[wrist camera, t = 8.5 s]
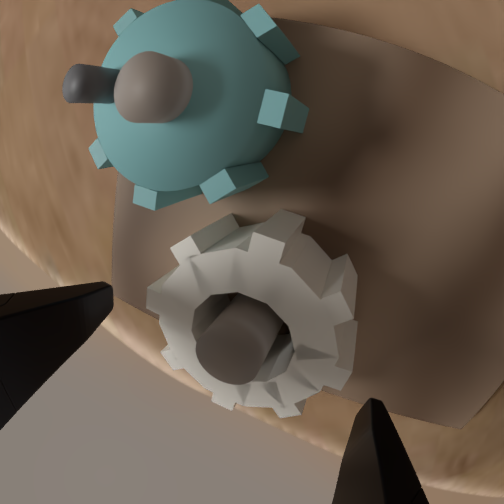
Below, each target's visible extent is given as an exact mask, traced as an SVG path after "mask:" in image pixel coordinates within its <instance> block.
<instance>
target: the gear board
mask: <svg viewBox="0 0 504 504" xmlns="http://www.w3.org/2000/svg"><path fill="white" fill-rule="evenodd" d="M272 20H273V21H274V22H275V23H276V25H277V26H278V27H279V28H280V30H281V31H282V32H283V33H284V35H285V36H286V37H287V38H288V40H289V41H290V42H291V44H292V45H293V47H294V48H295V49H296V51H297V52H298V53H299V55H300V57H298V58H296V59H295V60H293V61H291V62H289V63H288V64H286V65H285V64H284V65H285V67H286V69H287V72H288V75H289V79H290V83H291V94H292V96H293V97H294V98H296V99H297V100H298V101H300V102H301V103H303V104H304V105H305V106H307V107H308V108H309V112H308V116H307V119H306V123H305V127H304V131H303V133H299V132H294V131H289V130H284V131H283V133H282V135H281V137H280V139H279V140H278V142H277V143H276V145H275V146H274V147H273V149H272V150H271V151H270V152H269V153H268V154H267V155H266V156H265V157H264V158H263V159H262V160H261V161H260V162H261V163H262V165H263V167H264V168H265V170H266V172H267V174H268V175H269V177H268V178H266V179H264V180H263V181H261V182H259V183H257V184H256V185H254V186H252V187H250V188H249V189H246V190H244V191H241V192H239V193H236V194H234V195H231V196H229V197H226V198H224V199H222V200H219V201H217V202H214V203H212V204H209V202H208V200H207V198H206V197H205V195H204V193H203V191H202V194H200V195H198V196H195V197H192V198H189V199H186V200H183V201H180V202H177V203H175V204H172V205H169V206H166V207H164V208H161V209H158V210H155V211H154V210H151V209H148V208H145V207H143V206H140V205H137V204H134V203H133V195H134V187H135V185H136V184H135V183H133V182H131V181H130V180H128V179H127V178H125V177H124V176H123V175H122V174H121V173H119V171H118V177H117V186H116V197H115V209H114V224H113V245H112V287H113V295H114V296H116V297H117V298H119V299H121V300H123V301H124V302H126V303H128V304H130V305H132V306H134V307H135V308H137V309H139V310H141V311H143V312H145V313H147V314H148V315H150V316H152V317H154V318H156V319H158V320H159V316H160V315H158V314H156V313H154V312H153V311H151V310H149V309H147V308H146V299H147V287H148V286H150V285H151V284H153V283H154V282H155V281H157V280H158V279H160V278H161V277H163V276H164V275H166V274H167V273H169V272H170V271H171V270H173V269H174V268H176V267H177V266H179V263H178V261H177V259H176V258H175V256H174V254H173V253H172V251H171V249H170V247H172V246H174V245H175V244H177V243H179V242H180V241H182V240H184V239H185V238H187V237H189V236H190V235H192V234H194V233H196V232H198V231H199V230H201V229H203V228H205V227H207V226H208V225H210V224H212V223H214V222H216V221H218V220H219V219H221V218H223V217H225V216H227V215H229V214H231V213H232V215H233V217H234V218H235V220H236V222H237V224H238V225H239V227H244V226H249V225H254V224H259V223H263V222H266V221H267V220H268V219H270V218H271V217H272V216H273V215H275V214H276V213H277V212H278V211H280V210H281V209H283V210H286V211H289V212H292V213H295V214H298V215H301V216H304V217H306V219H305V222H304V225H303V228H302V232H301V233H303V234H305V235H308V236H310V237H312V238H313V240H314V241H315V242H316V243H317V244H318V245H319V246H320V247H321V248H322V250H323V251H324V252H325V253H326V254H327V255H328V256H329V258H330V259H331V260H334V259H336V258H338V257H340V256H343V255H345V254H348V256H349V258H350V260H351V262H352V264H353V266H354V269H355V271H356V273H357V275H358V277H357V290H356V302H355V312H354V319H352V320H355V321H358V325H357V335H356V345H355V354H354V363H353V371H352V373H351V375H350V377H349V378H348V380H347V382H346V383H345V385H344V386H343V388H342V389H341V391H340V390H337V389H334V388H331V387H328V386H325V385H323V387H322V389H321V390H322V391H325V392H328V393H330V394H333V395H336V396H339V397H342V398H345V399H348V400H352V401H355V402H358V403H361V404H365V403H366V401H367V400H368V399H369V398H375V399H379V400H381V401H382V402H383V403H384V405H385V407H386V409H387V411H388V412H391V413H395V414H399V415H402V416H406V417H410V418H414V419H418V420H422V421H426V422H430V423H434V424H439V425H443V426H448V427H453V428H457V429H462V428H463V427H464V426H465V425H466V424H467V423H468V422H469V421H470V420H471V419H472V418H473V416H474V415H475V414H476V413H477V412H478V411H479V410H480V409H481V408H482V407H483V405H484V404H485V403H486V402H487V401H488V400H489V398H490V397H491V396H492V395H493V394H494V392H495V391H496V390H497V389H498V388H499V386H500V385H501V384H502V383H503V381H504V94H502V93H500V92H499V91H497V90H495V89H493V88H492V87H490V86H488V85H486V84H484V83H483V82H481V81H479V80H477V79H475V78H473V77H471V76H469V75H467V74H465V73H463V72H461V71H459V70H457V69H454V68H452V67H450V66H448V65H446V64H443V63H441V62H439V61H436V60H434V59H432V58H429V57H427V56H424V55H422V54H419V53H416V52H414V51H411V50H408V49H406V48H403V47H400V46H397V45H394V44H391V43H388V42H385V41H381V40H378V39H375V38H371V37H368V36H364V35H361V34H357V33H353V32H349V31H345V30H341V29H336V28H332V27H327V26H322V25H317V24H312V23H306V22H300V21H294V20H287V19H279V18H272ZM192 90H193V79H192V75H191V72H190V70H189V68H188V67H187V66H186V65H185V64H184V63H183V62H182V61H180V60H178V59H175V58H173V57H170V56H167V55H164V54H161V53H158V52H154V51H145V52H141V53H138V54H136V55H135V56H133V57H132V58H130V59H129V60H128V61H127V62H126V63H125V64H124V66H123V67H122V69H121V70H120V72H119V74H118V76H117V79H116V82H115V87H114V101H115V105H116V108H117V110H118V112H119V114H120V115H121V116H122V117H123V118H124V119H126V120H127V121H129V122H133V123H166V122H169V121H172V120H173V119H175V118H176V117H178V116H179V115H180V114H181V113H182V112H183V111H184V109H185V108H186V107H187V105H188V103H189V101H190V98H191V95H192ZM227 294H228V297H229V300H230V303H229V304H228V305H227V307H226V308H225V309H224V310H223V311H222V312H221V313H220V315H219V316H218V317H217V318H216V319H215V320H214V322H213V323H212V324H211V325H210V326H209V327H208V328H207V330H206V331H205V332H204V333H203V334H202V335H201V336H200V338H199V339H198V341H197V343H196V355H197V358H198V360H199V362H200V364H201V366H202V367H203V368H204V369H205V370H206V371H207V372H208V373H209V374H210V375H211V376H213V377H214V378H216V379H218V380H220V381H222V382H224V383H228V384H232V385H242V384H246V383H249V382H250V381H252V380H253V379H254V378H255V377H256V375H257V374H258V372H259V370H260V368H261V366H262V364H263V362H264V360H265V358H266V356H267V354H268V352H269V350H270V348H271V346H272V344H273V342H274V340H275V338H276V336H277V335H282V334H289V333H290V330H289V326H288V325H287V324H286V323H285V322H284V321H283V320H282V319H281V318H280V317H279V316H278V315H277V314H276V313H275V312H274V310H273V309H272V308H271V307H270V306H269V305H268V304H267V303H264V302H262V301H259V300H256V299H254V298H251V297H249V296H246V295H244V294H241V293H239V292H234V293H227Z"/></svg>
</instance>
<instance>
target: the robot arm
mask: <svg viewBox="0 0 504 504" xmlns="http://www.w3.org/2000/svg"><path fill="white" fill-rule="evenodd" d="M113 305H114V303H113V287H112V286H111V285H109V284H108V283H106V282H103V281H102V282H94V283H87V284H79V285H72V286H64V287H57V288H49V289H42V290H34V291H27V292H18V293H10V294H2V295H0V430H1V429H2V428H3V427H4V425H5V424H6V423H7V422H8V421H9V420H10V419H11V418H12V417H13V416H14V415H15V414H16V412H17V411H18V410H19V409H20V408H21V407H22V406H23V405H24V404H25V403H26V402H27V401H28V399H29V398H30V397H31V396H32V395H33V394H34V393H35V392H36V391H37V390H38V389H39V388H40V387H41V386H42V385H43V383H45V382H46V381H47V380H48V379H49V378H50V377H51V376H52V374H54V372H55V371H57V370H58V368H59V367H60V366H61V365H62V364H63V363H64V362H65V361H66V360H67V359H68V358H69V357H70V356H71V355H72V354H73V353H74V352H76V351H77V349H79V348H80V347H81V345H83V344H84V342H86V341H87V340H88V338H89V337H90V336H91V335H92V334H93V333H94V331H95V330H96V329H97V328H98V326H99V325H100V324H101V323H102V322H103V320H104V319H105V318H106V317H107V316H108V315H109V313H110V312H111V311H112V309H113ZM332 504H429V502H428V500H427V498H426V495H425V493H424V491H423V489H422V488H421V484H420V482H419V479H418V477H417V475H416V472H415V470H414V468H413V466H412V463H411V461H410V459H409V457H408V454H407V452H406V450H405V448H404V446H403V443H402V441H401V439H400V437H399V435H398V433H397V430H396V428H395V426H394V424H393V422H392V420H391V418H390V416H389V413H388V411H387V409H386V407H385V405H384V403H383V402H382V401H381V400H379V399H375V398H369V399H368V400H367V401H366V403H365V404H364V405H363V407H362V408H361V409H360V411H359V412H358V413H357V415H356V417H355V420H354V423H353V427H352V430H351V433H350V437H349V440H348V443H347V446H346V449H345V452H344V455H343V459H342V463H341V467H340V471H339V477H338V481H337V485H336V489H335V494H334V498H333V502H332Z"/></svg>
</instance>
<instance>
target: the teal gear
mask: <svg viewBox="0 0 504 504" xmlns="http://www.w3.org/2000/svg"><path fill="white" fill-rule="evenodd" d="M113 27H114V29H115V31H116V33H117V35H118V36H119V37H118V38H117V40H116V41H115V42H114V44H113V45H112V47H111V48H110V50H109V52H108V53H107V55H106V57H105V60H104V62H103V64H102V66H101V67H99V66H92V65H85V64H76V65H74V66H72V67H71V68H70V69H69V71H68V72H67V74H66V76H65V78H64V82H63V96H64V99H65V100H66V101H67V102H69V103H94V120H95V127H96V131H97V135H98V138H97V139H96V140H95V141H94V143H93V144H92V145H91V146H90V147H89V151H90V153H91V155H92V157H93V159H94V162H95V164H96V166H97V168H98V169H102V168H107V167H113V166H114V167H115V168H116V169H117V170H118V171H119V173H121V174H122V175H123V176H124V177H125V178H127V179H128V180H130V181H131V182H133V183H135V184H136V185H135V187H134V195H133V203H134V204H137V205H140V206H143V207H145V208H148V209H151V210H154V211H155V210H158V209H161V208H164V207H166V206H169V205H172V204H175V203H177V202H180V201H183V200H186V199H189V198H192V197H195V196H198V195H200V194H202V191H203V193H204V195H205V197H206V198H207V200H208V202H209V204H212V203H214V202H217V201H219V200H222V199H224V198H226V197H229V196H231V195H234V194H236V193H239V192H241V191H244V190H246V189H249V188H250V187H252V186H254V185H256V184H257V183H259V182H261V181H263V180H264V179H266V178H268V177H269V175H268V174H267V172H266V170H265V168H264V167H263V165H262V163H261V162H260V161H261V160H262V159H263V158H264V157H265V156H266V155H267V154H268V153H269V152H270V151H271V150H272V149H273V147H274V146H275V145H276V143H277V142H278V140H279V139H280V137H281V135H282V133H283V131H284V130H289V131H294V132H299V133H303V131H304V127H305V123H306V119H307V116H308V112H309V108H308V107H307V106H305V105H304V104H303V103H301V102H300V101H298V100H297V99H296V98H294V97H293V96H292V94H291V83H290V79H289V75H288V72H287V69H286V67H285V65H286V64H288V63H289V62H291V61H293V60H295V59H296V58H298V57H300V55H299V53H298V52H297V51H296V49H295V48H294V47H293V45H292V44H291V42H290V41H289V40H288V38H287V37H286V36H285V35H284V33H283V32H282V31H281V30H280V28H279V27H278V26H277V25H276V23H275V22H274V21H273V20H272V18H271V17H270V16H269V15H268V14H267V13H266V11H265V10H264V9H263V8H262V7H261V6H260V4H257V5H256V6H254V7H252V8H251V9H249V10H248V11H246V12H245V13H242V12H241V11H239V10H238V9H237V8H236V7H235V6H234V5H233V4H232V3H231V2H229V1H228V0H176V1H172V2H168V3H165V4H162V5H160V6H157V7H155V8H153V9H151V10H149V11H148V12H146V13H142V12H140V11H137V10H135V9H132V8H131V9H130V10H129V11H128V12H127V13H125V14H124V15H123V16H122V17H121V18H120V19H119V20H118V21H117V22H116V24H115V25H114V26H113ZM145 51H154V52H158V53H161V54H164V55H167V56H170V57H173V58H175V59H178V60H180V61H182V62H183V63H184V64H185V65H186V66H187V67H188V68H189V70H190V72H191V75H192V79H193V90H192V95H191V98H190V101H189V103H188V105H187V107H186V108H185V109H184V111H183V112H182V113H181V114H180V115H179V116H178V117H176V118H175V119H173V120H172V121H169V122H166V123H133V122H129V121H127V120H126V119H124V118H123V117H122V116H121V115H120V114H119V112H118V110H117V108H116V105H115V101H114V87H115V82H116V79H117V76H118V74H119V72H120V70H121V69H122V67H123V66H124V64H125V63H126V62H127V61H128V60H129V59H130V58H132V57H133V56H135V55H136V54H138V53H141V52H145ZM284 64H285V65H284Z"/></svg>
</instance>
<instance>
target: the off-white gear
mask: <svg viewBox="0 0 504 504" xmlns="http://www.w3.org/2000/svg"><path fill="white" fill-rule="evenodd" d="M305 219H306V217H304V216H301V215H298V214H295V213H292V212H289V211H286V210H283V209H281V210H280V211H278V212H277V213H276V214H275V215H273V216H272V217H271V218H270V219H268V220H267V221H266V222H263V223H259V224H254V225H249V226H244V227H239V225H238V224H237V222H236V220H235V218H234V217H233V215H232V213H231V214H229V215H227V216H225V217H223V218H221V219H219V220H218V221H216V222H214V223H212V224H210V225H208V226H207V227H205V228H203V229H201V230H199V231H198V232H196V233H194V234H192V235H190V236H189V237H187V238H185V239H184V240H182V241H180V242H179V243H177V244H175V245H174V246H172V247H170V249H171V251H172V253H173V254H174V256H175V258H176V259H177V261H178V263H179V266H177V267H176V268H174V269H173V270H171V271H170V272H169V273H167V274H166V275H164V276H163V277H161V278H160V279H158V280H157V281H155V282H154V283H153V284H151V285H150V286H148V287H147V299H146V308H147V309H149V310H151V311H153V312H154V313H156V314H158V315H160V316H159V324H160V326H161V329H162V331H163V333H164V336H165V338H166V340H167V342H168V345H167V346H166V347H165V348H164V349H163V350H162V351H161V354H162V355H163V357H164V358H165V359H166V361H167V362H168V364H169V365H170V366H171V368H172V369H173V370H177V369H182V368H184V369H185V370H186V371H187V372H188V373H189V374H190V375H191V376H192V377H193V378H194V379H195V380H197V381H198V382H199V383H200V384H201V385H202V386H203V387H204V388H205V389H207V390H209V391H211V392H213V396H212V400H211V401H212V402H214V403H216V404H218V405H220V406H222V407H225V408H227V409H229V410H231V411H232V410H233V408H234V407H235V405H236V403H238V404H240V405H242V406H251V407H271V408H273V409H274V411H275V412H276V413H277V415H278V416H279V418H284V417H291V416H297V415H302V412H303V408H304V405H305V402H306V399H307V398H308V397H310V396H312V395H314V394H316V393H318V392H320V391H321V389H322V387H323V385H325V386H328V387H331V388H334V389H337V390H340V391H341V389H342V388H343V386H344V385H345V383H346V382H347V380H348V378H349V377H350V375H351V373H352V371H353V363H354V354H355V345H356V335H357V325H358V321H355V320H352V319H354V312H355V302H356V290H357V277H358V275H357V273H356V271H355V269H354V266H353V264H352V262H351V260H350V258H349V256H348V254H345V255H343V256H340V257H338V258H336V259H334V260H331V259H330V258H329V256H328V255H327V254H326V253H325V252H324V251H323V250H322V248H321V247H320V246H319V245H318V244H317V243H316V242H315V241H314V240H313V238H312V237H310V236H308V235H305V234H303V233H301V232H302V228H303V225H304V222H305ZM234 292H239V293H241V294H244V295H246V296H249V297H251V298H254V299H256V300H259V301H262V302H264V303H267V304H268V305H269V306H270V307H271V308H272V309H273V310H274V312H275V313H276V314H277V315H278V316H279V317H280V318H281V319H282V320H283V321H284V322H285V323H286V324H287V325H288V326H289V330H290V333H289V334H282V335H277V336H276V338H275V340H274V342H273V344H272V346H271V348H270V350H269V352H268V354H267V356H266V358H265V360H264V362H263V364H262V366H261V368H260V370H259V372H258V374H257V375H256V377H255V378H254V379H253V380H252V381H250V382H249V383H246V384H242V385H232V384H228V383H224V382H222V381H220V380H218V379H216V378H214V377H213V376H211V375H210V374H209V373H208V372H207V371H206V370H205V369H204V368H203V367H202V366H201V364H200V362H199V360H198V358H197V355H196V343H197V341H198V339H199V338H200V336H201V335H202V334H203V333H204V332H205V331H206V330H207V328H208V327H209V326H210V325H211V324H212V323H213V322H214V320H215V319H216V318H217V317H218V316H219V315H220V313H221V312H222V311H223V310H224V309H225V308H226V307H227V305H228V304H229V303H230V300H229V297H228V294H227V293H234Z"/></svg>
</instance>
